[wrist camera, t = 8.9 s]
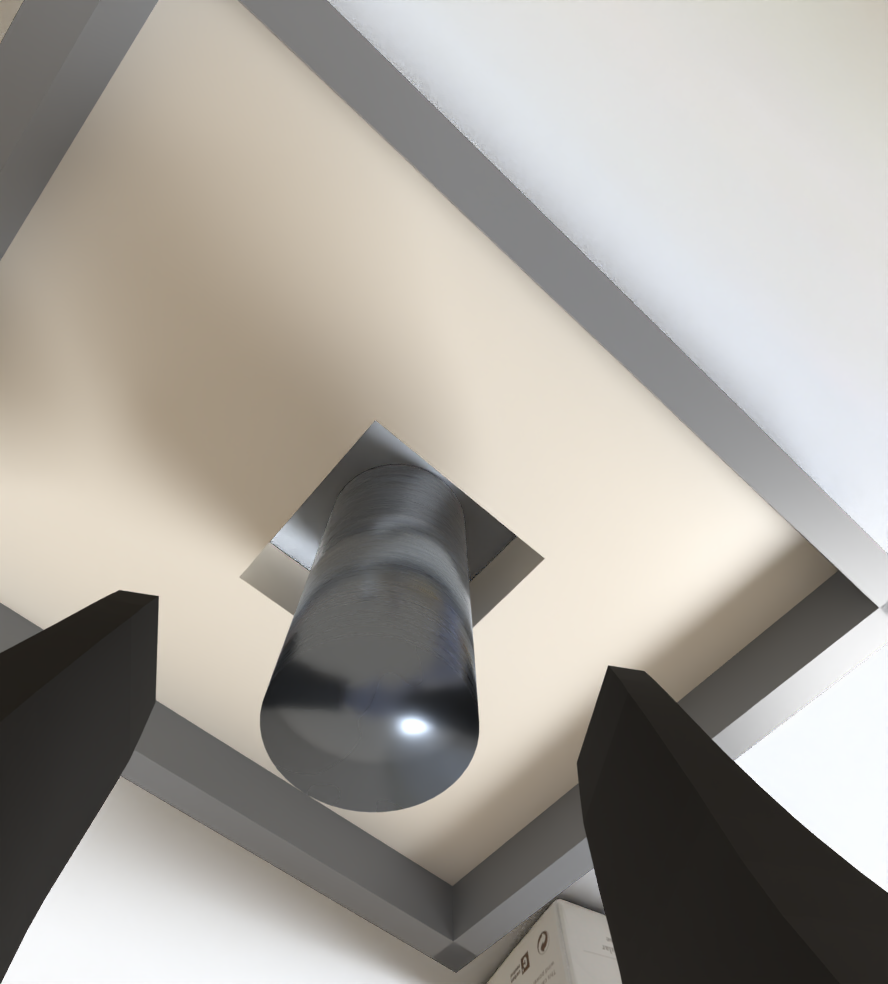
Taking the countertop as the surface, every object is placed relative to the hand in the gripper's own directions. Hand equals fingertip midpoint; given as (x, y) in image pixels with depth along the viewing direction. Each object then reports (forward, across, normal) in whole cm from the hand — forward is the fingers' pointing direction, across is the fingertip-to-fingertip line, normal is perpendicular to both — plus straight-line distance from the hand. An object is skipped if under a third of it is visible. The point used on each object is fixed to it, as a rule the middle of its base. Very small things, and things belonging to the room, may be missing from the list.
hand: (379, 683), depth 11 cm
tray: (+6, +1, 0) cm, 6 cm away
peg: (+6, 0, 0) cm, 6 cm away
